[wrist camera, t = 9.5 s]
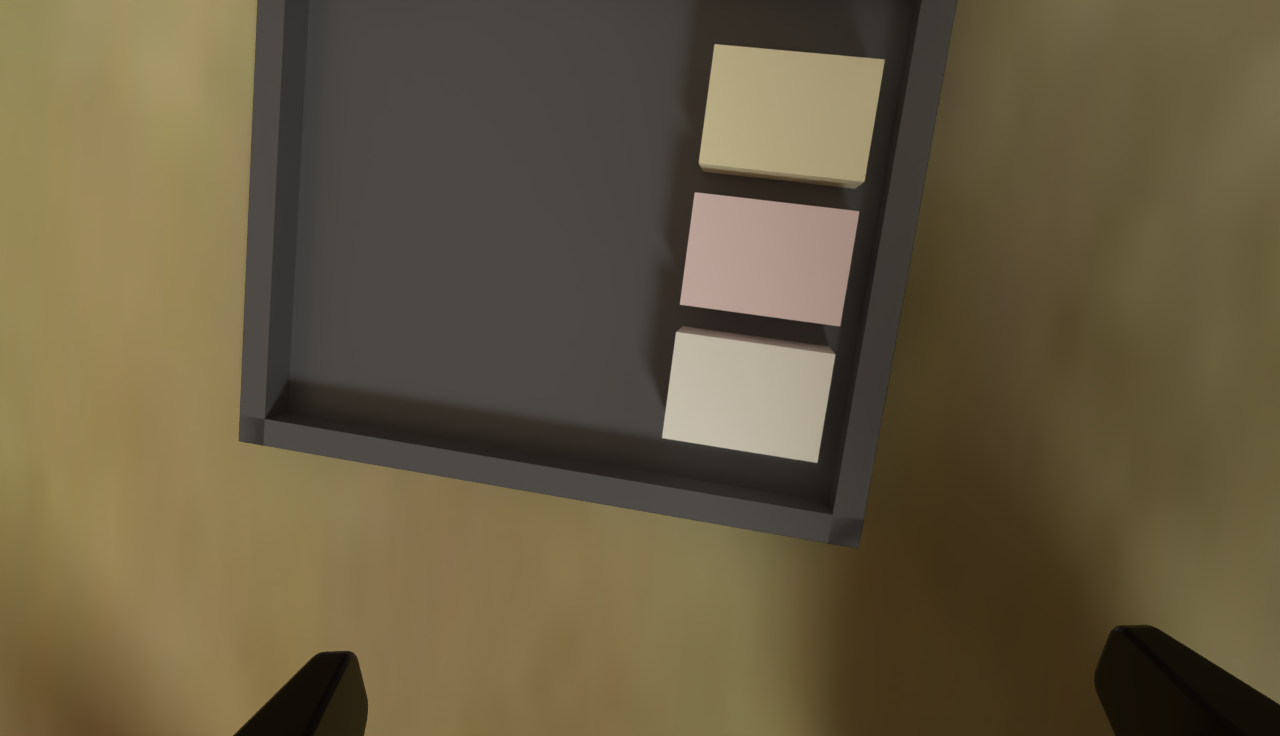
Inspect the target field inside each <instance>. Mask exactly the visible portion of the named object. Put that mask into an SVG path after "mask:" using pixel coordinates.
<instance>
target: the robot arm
mask: <svg viewBox="0 0 1280 736" xmlns="http://www.w3.org/2000/svg"><path fill="white" fill-rule="evenodd" d="M1094 682H1095V688H1096V692H1097V695H1098V697H1099V700H1100V702H1101V704H1102V707H1103V709H1104V711H1105V713H1106V716H1107V718H1108V720H1109V723H1110V725H1111V727H1112V730H1113V732H1114V734H1115V736H1280V705H1279V704H1278V703H1276V702H1275V701H1273V700H1271V699H1270V698H1268V697H1267V696H1265V695H1263V694H1262V693H1260V692H1259V691H1257V690H1255V689H1254V688H1252V687H1251V686H1249V685H1247V684H1246V683H1244V682H1243V681H1241V680H1239V679H1238V678H1236V677H1235V676H1233V675H1231V674H1230V673H1228V672H1227V671H1225V670H1223V669H1222V668H1220V667H1219V666H1217V665H1215V664H1214V663H1212V662H1211V661H1209V660H1207V659H1206V658H1204V657H1203V656H1201V655H1199V654H1198V653H1196V652H1195V651H1193V650H1191V649H1190V648H1188V647H1187V646H1185V645H1183V644H1182V643H1180V642H1179V641H1177V640H1175V639H1174V638H1172V637H1171V636H1169V635H1167V634H1166V633H1164V632H1163V631H1161V630H1159V629H1157V628H1156V627H1153V626H1149V625H1121V626H1117V627H1115V628H1114V629H1113V630H1112V631H1111V632H1110V634H1109V636H1108V639H1107V641H1106V644H1105V646H1104V649H1103V652H1102V654H1101V657H1100V659H1099V662H1098V665H1097V667H1096V670H1095V675H1094ZM367 715H368V699H367V695H366V691H365V686H364V682H363V678H362V674H361V670H360V666H359V662H358V659H357V657H356V655H355V654H354V653H353V652H350V651H334V652H321V653H318V654H317V655H315V656H314V657H312V658H311V659H310V660H309V661H308V662H307V663H306V664H305V665H304V666H303V667H302V668H301V669H300V670H299V671H298V672H297V673H296V674H295V675H294V676H293V677H292V678H291V679H290V680H289V681H288V682H287V683H286V684H285V685H284V686H283V687H282V688H281V689H280V690H279V691H278V692H277V693H276V694H275V695H274V696H273V697H272V698H271V699H270V700H269V701H268V702H267V703H266V704H265V705H264V706H263V707H262V708H261V709H260V710H259V711H258V712H257V713H256V714H255V715H254V716H253V717H252V718H251V719H250V720H249V721H248V722H247V723H246V724H245V725H244V726H243V727H241V728H240V729H239V730H238V731H237V732H236V733H235V734H234V735H233V736H364V732H365V727H366V722H367Z"/></svg>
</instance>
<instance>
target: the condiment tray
mask: <svg viewBox="0 0 1280 736" xmlns="http://www.w3.org/2000/svg"><path fill="white" fill-rule="evenodd" d="M956 4H957V0H258V2H257V26H256V49H255V72H254V96H253V119H252V142H251V166H250V189H249V212H248V235H247V259H246V282H245V305H244V329H243V352H242V375H241V399H240V422H239V441H241V442H246V443H252V444H258V445H264V446H269V447H275V448H281V449H287V450H292V451H298V452H304V453H310V454H316V455H321V456H327V457H333V458H339V459H344V460H350V461H356V462H362V463H367V464H373V465H379V466H385V467H391V468H396V469H402V470H408V471H414V472H419V473H425V474H431V475H437V476H442V477H448V478H454V479H460V480H465V481H471V482H477V483H483V484H489V485H494V486H500V487H506V488H512V489H517V490H523V491H529V492H535V493H540V494H546V495H552V496H558V497H564V498H569V499H575V500H581V501H587V502H592V503H598V504H604V505H610V506H615V507H621V508H627V509H633V510H638V511H644V512H650V513H656V514H662V515H667V516H673V517H679V518H685V519H690V520H696V521H702V522H708V523H713V524H719V525H725V526H731V527H737V528H742V529H748V530H754V531H760V532H765V533H771V534H777V535H783V536H788V537H794V538H800V539H806V540H811V541H817V542H823V543H829V544H835V545H840V546H846V547H852V548H858V549H859V543H860V538H861V532H862V527H863V521H864V515H865V510H866V504H867V499H868V493H869V488H870V482H871V477H872V471H873V465H874V460H875V454H876V449H877V443H878V438H879V432H880V426H881V421H882V415H883V410H884V404H885V399H886V393H887V388H888V382H889V376H890V371H891V365H892V360H893V354H894V349H895V343H896V338H897V332H898V326H899V321H900V315H901V310H902V304H903V299H904V293H905V288H906V282H907V276H908V271H909V265H910V260H911V254H912V249H913V243H914V238H915V232H916V226H917V221H918V215H919V210H920V204H921V199H922V193H923V187H924V182H925V176H926V171H927V165H928V160H929V154H930V149H931V143H932V137H933V132H934V126H935V121H936V115H937V110H938V104H939V99H940V93H941V87H942V82H943V76H944V71H945V65H946V60H947V54H948V49H949V43H950V37H951V32H952V26H953V21H954V15H955V10H956Z"/></svg>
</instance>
